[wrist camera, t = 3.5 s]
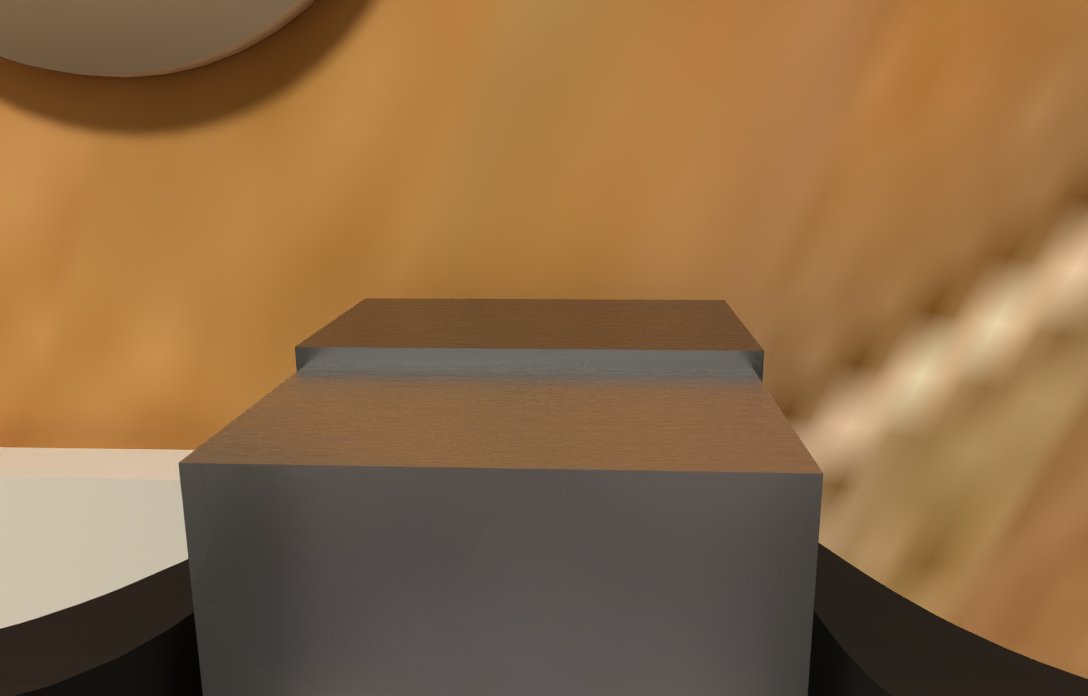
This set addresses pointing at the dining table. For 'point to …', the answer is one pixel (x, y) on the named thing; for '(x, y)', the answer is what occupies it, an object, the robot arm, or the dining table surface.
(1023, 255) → the dining table surface
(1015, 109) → the dining table surface
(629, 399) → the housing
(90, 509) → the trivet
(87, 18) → the metal coaster
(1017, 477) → the dining table surface
